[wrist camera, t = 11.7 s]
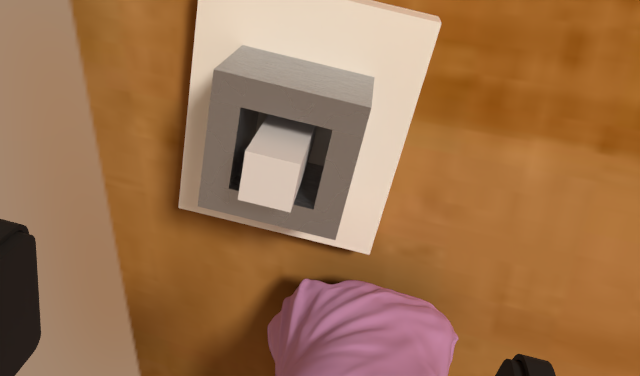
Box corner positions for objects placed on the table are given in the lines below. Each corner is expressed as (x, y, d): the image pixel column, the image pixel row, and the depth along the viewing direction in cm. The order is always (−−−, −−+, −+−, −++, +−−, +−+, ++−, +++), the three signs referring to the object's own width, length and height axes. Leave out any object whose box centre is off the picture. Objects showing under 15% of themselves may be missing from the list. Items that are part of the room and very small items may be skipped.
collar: (242, 45, 27) (213, 69, 23) (374, 77, 27) (371, 108, 23) (225, 164, 30) (197, 206, 26) (343, 193, 30) (335, 240, 26)
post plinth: (213, -38, 27) (140, -21, 19) (438, 16, 27) (457, 55, 19) (189, 192, 34) (127, 276, 26) (370, 237, 34) (364, 335, 26)
